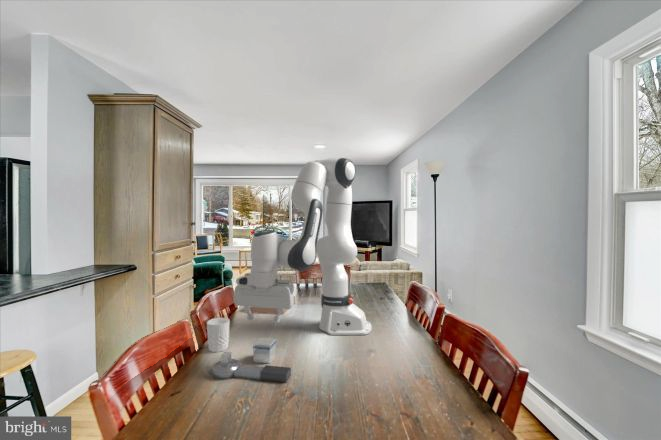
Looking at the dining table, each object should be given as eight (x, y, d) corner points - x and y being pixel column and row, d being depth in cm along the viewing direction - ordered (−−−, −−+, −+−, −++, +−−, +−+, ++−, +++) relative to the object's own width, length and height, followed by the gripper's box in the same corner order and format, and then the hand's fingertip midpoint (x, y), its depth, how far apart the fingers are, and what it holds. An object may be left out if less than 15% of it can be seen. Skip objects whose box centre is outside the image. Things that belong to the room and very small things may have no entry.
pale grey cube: (276, 355, 109) (276, 338, 109) (269, 363, 104) (269, 345, 104) (260, 354, 111) (260, 337, 110) (253, 362, 105) (253, 344, 105)
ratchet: (292, 372, 98) (292, 353, 98) (284, 386, 90) (283, 365, 90) (221, 365, 103) (221, 347, 103) (207, 378, 95) (206, 358, 95)
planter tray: (295, 303, 173) (295, 296, 173) (283, 314, 155) (283, 306, 155) (260, 301, 177) (260, 294, 177) (245, 312, 159) (244, 304, 158)
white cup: (208, 354, 111) (208, 326, 110) (205, 346, 118) (205, 319, 117) (231, 350, 114) (231, 322, 114) (227, 342, 121) (227, 316, 121)
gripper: (296, 278, 108) (296, 319, 108) (240, 275, 112) (240, 315, 112) (290, 282, 101) (290, 325, 102) (231, 279, 105) (231, 320, 105)
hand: (263, 320), depth 107 cm, fingers open, 8 cm apart
